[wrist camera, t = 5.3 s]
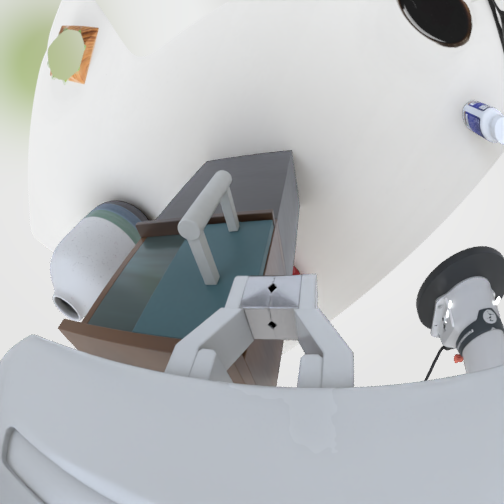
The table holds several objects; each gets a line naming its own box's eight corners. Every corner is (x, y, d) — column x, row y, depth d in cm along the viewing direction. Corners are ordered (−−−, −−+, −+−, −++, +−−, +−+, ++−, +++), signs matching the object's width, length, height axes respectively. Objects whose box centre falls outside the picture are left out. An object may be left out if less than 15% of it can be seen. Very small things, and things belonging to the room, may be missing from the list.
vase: (105, 179, 49) (25, 253, 31) (173, 218, 52) (109, 313, 34) (95, 233, 60) (37, 305, 42) (152, 268, 63) (104, 351, 45)
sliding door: (274, 227, 23) (244, 352, 14) (195, 232, 25) (137, 339, 16) (261, 162, 20) (212, 271, 11) (175, 175, 22) (89, 272, 13)
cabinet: (299, 206, 46) (269, 427, 19) (221, 212, 50) (131, 398, 23) (290, 140, 39) (233, 360, 12) (203, 152, 43) (57, 328, 16)
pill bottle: (479, 136, 30) (507, 156, 23) (457, 120, 30) (486, 137, 23) (489, 110, 26) (520, 126, 20) (468, 93, 26) (499, 105, 20)
